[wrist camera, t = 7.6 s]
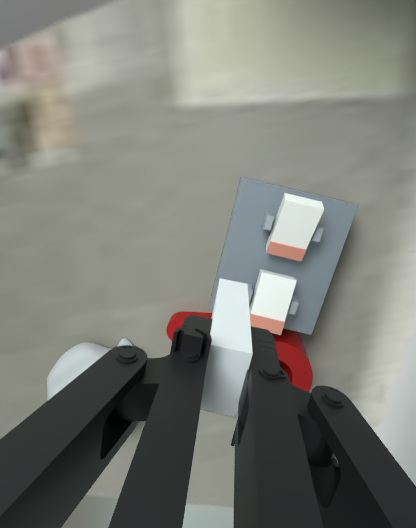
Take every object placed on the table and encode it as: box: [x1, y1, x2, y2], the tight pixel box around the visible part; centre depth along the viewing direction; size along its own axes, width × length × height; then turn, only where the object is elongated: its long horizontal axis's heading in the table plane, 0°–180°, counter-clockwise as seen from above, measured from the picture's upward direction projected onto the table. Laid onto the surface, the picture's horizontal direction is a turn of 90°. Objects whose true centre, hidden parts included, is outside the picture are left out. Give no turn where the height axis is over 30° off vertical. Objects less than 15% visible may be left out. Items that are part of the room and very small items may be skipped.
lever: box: [167, 312, 312, 392], centre depth 40 cm, size 18×9×7 cm, turn 74°
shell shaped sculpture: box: [47, 338, 133, 401], centre depth 43 cm, size 13×13×6 cm
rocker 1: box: [266, 193, 324, 261], centre depth 32 cm, size 6×4×2 cm, turn 167°
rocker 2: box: [249, 269, 297, 335], centre depth 34 cm, size 6×4×2 cm, turn 167°
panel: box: [209, 177, 358, 335], centre depth 36 cm, size 15×12×7 cm
